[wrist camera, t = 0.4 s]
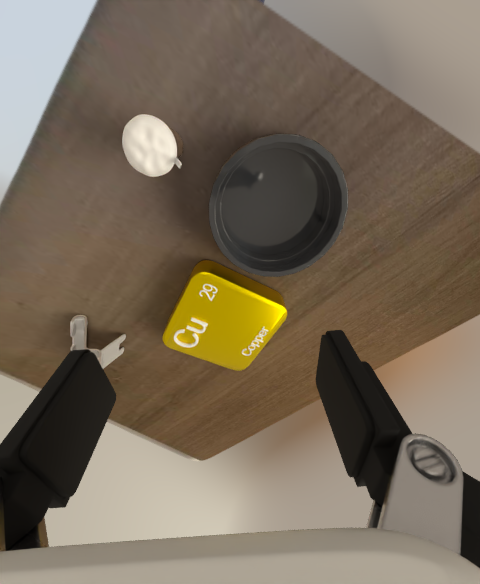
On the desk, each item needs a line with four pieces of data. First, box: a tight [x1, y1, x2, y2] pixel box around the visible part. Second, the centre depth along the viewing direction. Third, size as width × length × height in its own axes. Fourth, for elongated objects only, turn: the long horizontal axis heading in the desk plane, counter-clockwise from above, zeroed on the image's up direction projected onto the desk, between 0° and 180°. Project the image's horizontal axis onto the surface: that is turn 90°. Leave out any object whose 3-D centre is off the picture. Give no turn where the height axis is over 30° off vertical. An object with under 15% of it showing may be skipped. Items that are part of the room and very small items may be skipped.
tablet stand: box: [70, 315, 126, 369], centre depth 39 cm, size 9×8×8 cm
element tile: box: [162, 260, 287, 370], centre depth 38 cm, size 15×15×5 cm
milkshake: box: [122, 114, 183, 177], centre depth 24 cm, size 5×5×10 cm
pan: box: [209, 134, 348, 277], centre depth 30 cm, size 15×15×5 cm
